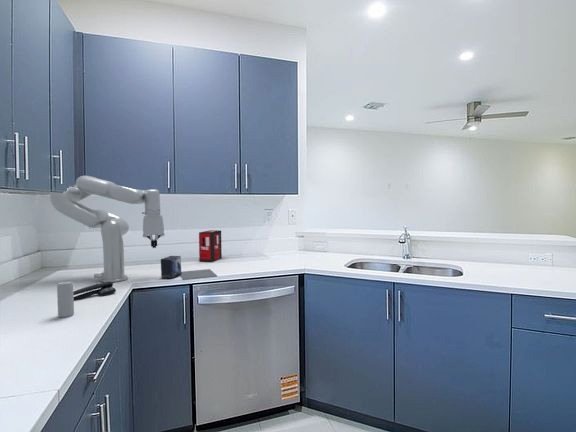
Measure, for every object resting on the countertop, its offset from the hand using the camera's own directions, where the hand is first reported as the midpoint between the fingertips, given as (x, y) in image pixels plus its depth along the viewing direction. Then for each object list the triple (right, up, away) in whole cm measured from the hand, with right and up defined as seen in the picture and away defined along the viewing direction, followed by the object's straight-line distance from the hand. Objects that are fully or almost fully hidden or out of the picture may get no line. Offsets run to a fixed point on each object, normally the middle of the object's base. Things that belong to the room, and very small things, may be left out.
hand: (154, 247), depth 179 cm
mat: (+20, -16, +10) cm, 28 cm away
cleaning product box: (+17, -14, +56) cm, 60 cm away
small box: (+8, -16, +4) cm, 19 cm away
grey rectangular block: (-9, -19, -57) cm, 61 cm away
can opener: (-14, -19, -32) cm, 40 cm away
